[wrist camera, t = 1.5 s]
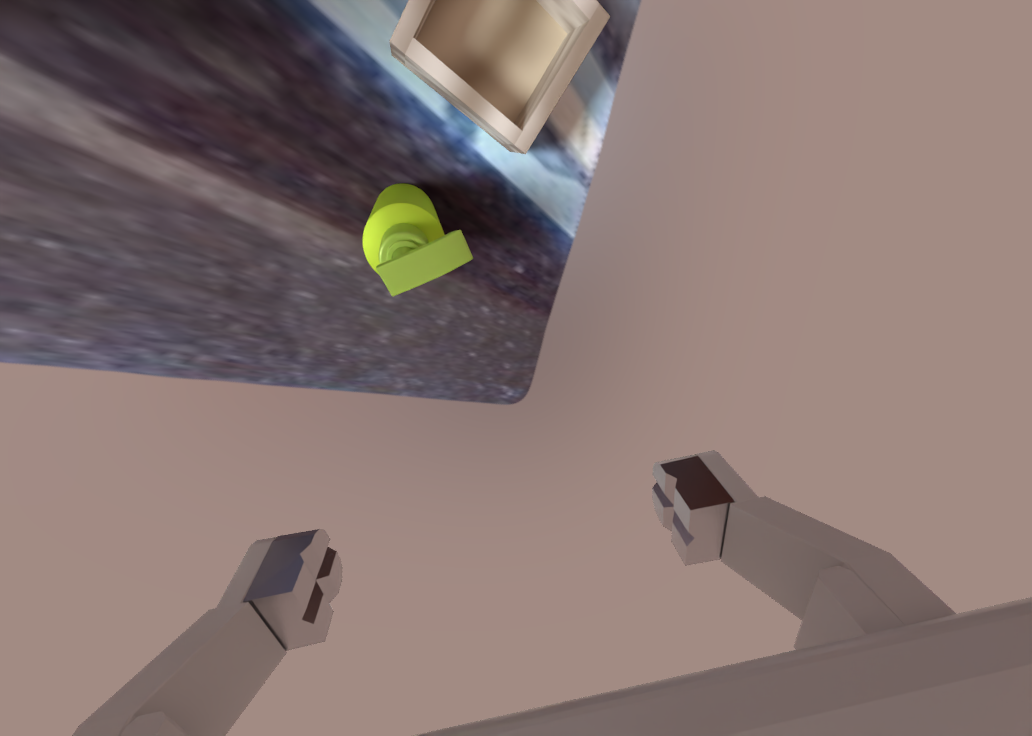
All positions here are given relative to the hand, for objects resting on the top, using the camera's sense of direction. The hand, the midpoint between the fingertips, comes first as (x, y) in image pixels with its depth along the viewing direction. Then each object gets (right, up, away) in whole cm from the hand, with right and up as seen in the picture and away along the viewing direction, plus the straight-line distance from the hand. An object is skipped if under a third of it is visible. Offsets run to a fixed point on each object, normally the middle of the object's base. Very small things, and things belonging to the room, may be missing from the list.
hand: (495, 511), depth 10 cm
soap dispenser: (-10, +19, +30) cm, 37 cm away
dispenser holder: (-2, +32, +25) cm, 40 cm away
